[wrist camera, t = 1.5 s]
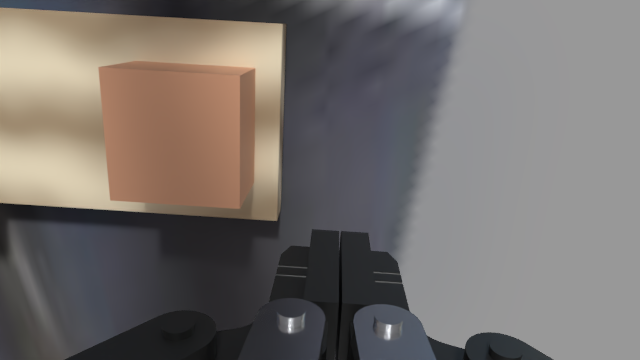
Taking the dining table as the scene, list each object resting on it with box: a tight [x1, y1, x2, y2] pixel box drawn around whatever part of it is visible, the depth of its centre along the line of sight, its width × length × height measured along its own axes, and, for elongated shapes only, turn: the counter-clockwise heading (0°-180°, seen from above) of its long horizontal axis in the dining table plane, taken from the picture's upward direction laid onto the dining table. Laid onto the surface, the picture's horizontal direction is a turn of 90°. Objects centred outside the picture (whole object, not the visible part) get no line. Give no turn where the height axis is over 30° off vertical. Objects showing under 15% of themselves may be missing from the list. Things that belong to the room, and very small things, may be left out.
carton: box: [98, 61, 255, 209], centre depth 26 cm, size 7×7×4 cm
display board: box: [0, 8, 286, 221], centre depth 28 cm, size 12×28×5 cm, turn 87°
